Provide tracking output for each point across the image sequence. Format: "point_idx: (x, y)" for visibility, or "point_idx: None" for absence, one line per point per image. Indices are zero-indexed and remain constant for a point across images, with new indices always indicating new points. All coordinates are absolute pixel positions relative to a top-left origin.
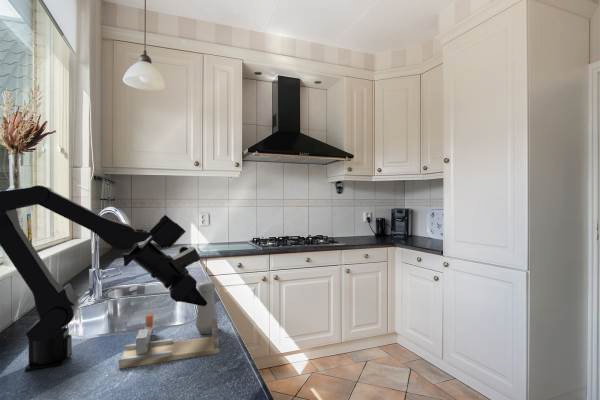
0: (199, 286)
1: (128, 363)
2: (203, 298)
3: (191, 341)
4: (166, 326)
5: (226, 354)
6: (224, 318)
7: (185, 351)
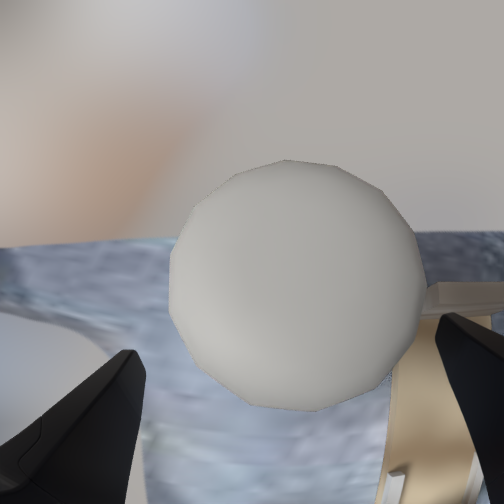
0: (359, 394)
1: None
2: (497, 336)
3: (416, 403)
4: (149, 484)
5: (490, 281)
6: (163, 244)
7: None
